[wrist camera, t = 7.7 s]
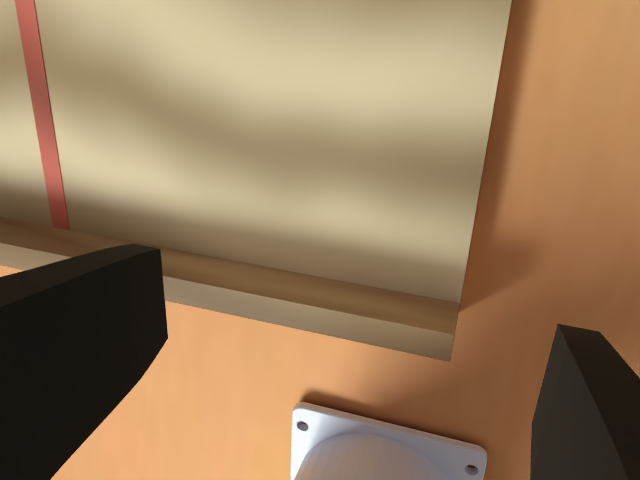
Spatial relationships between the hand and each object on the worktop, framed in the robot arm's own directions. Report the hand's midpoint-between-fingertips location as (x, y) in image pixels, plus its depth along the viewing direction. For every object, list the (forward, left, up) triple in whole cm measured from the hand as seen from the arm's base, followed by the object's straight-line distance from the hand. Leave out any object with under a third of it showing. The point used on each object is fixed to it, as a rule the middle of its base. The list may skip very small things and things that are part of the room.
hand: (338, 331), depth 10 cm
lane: (+2, +12, -10) cm, 16 cm away
